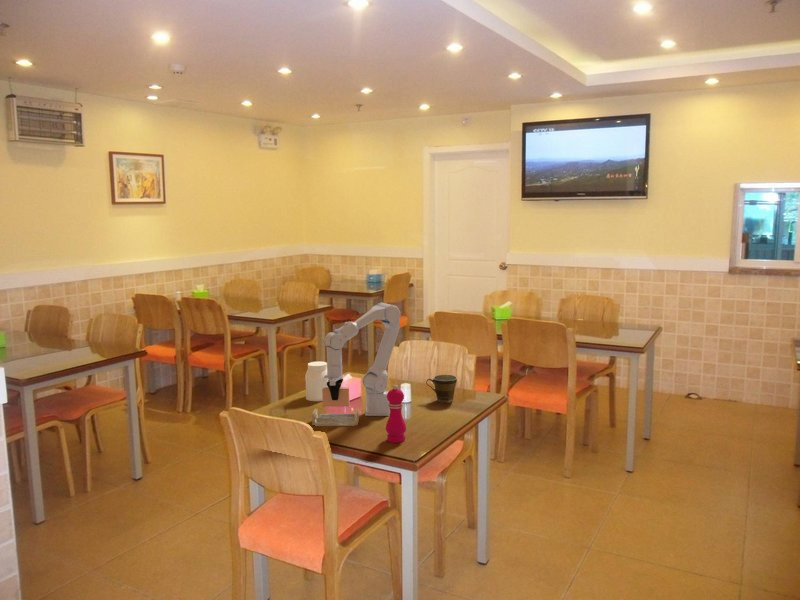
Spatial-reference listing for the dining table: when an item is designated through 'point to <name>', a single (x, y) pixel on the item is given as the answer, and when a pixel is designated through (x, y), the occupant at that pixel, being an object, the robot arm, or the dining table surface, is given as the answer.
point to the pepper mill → (395, 416)
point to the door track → (335, 419)
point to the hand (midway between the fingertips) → (335, 398)
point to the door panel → (342, 399)
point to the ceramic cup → (444, 387)
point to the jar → (315, 380)
